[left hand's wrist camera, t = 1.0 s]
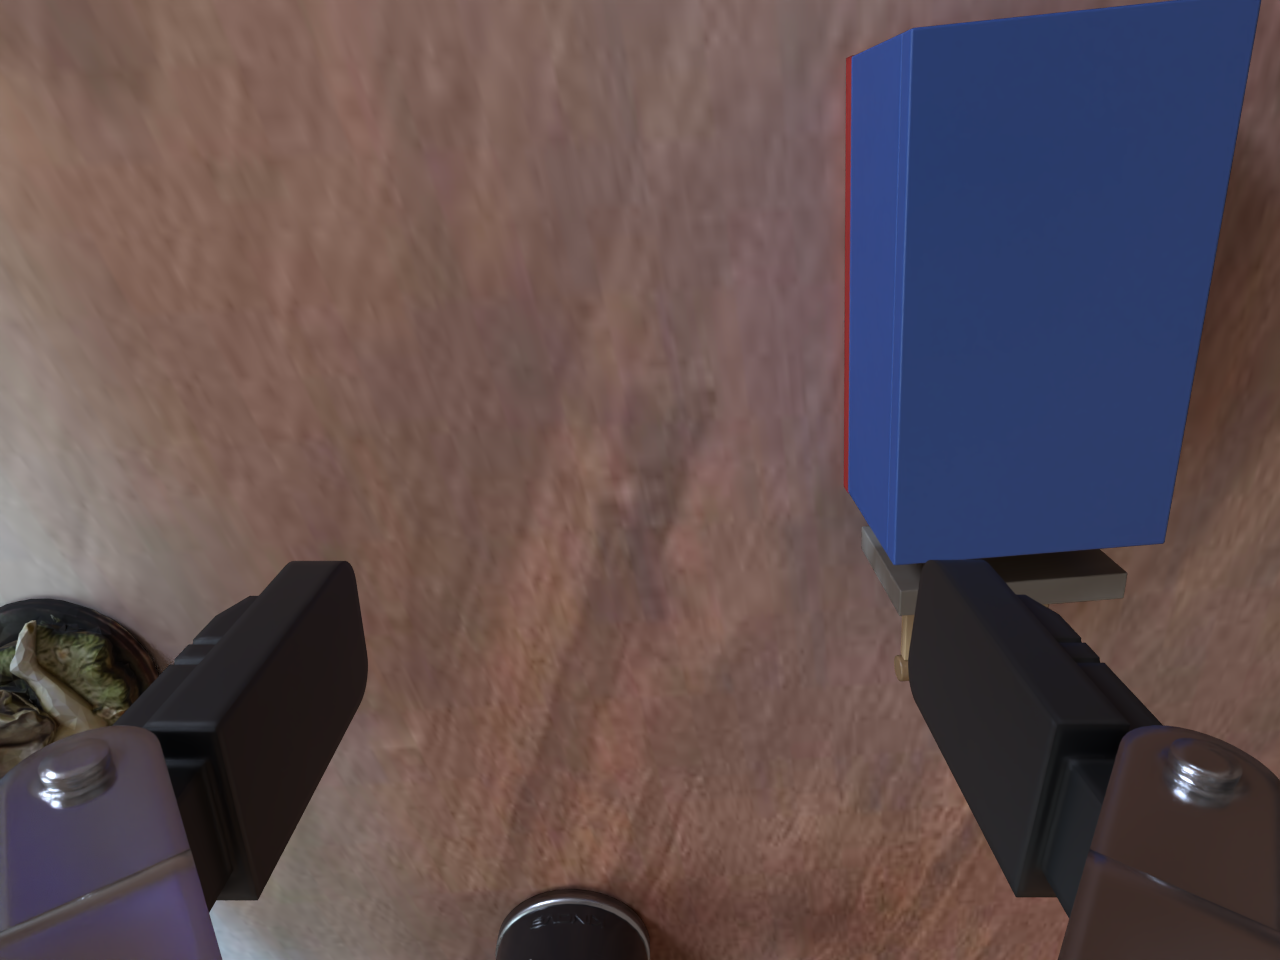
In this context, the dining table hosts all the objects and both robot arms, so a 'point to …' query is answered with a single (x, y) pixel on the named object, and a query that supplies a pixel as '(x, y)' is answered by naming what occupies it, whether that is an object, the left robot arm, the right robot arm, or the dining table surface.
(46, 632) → the figurine
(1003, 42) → the cabinet
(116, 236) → the dining table surface
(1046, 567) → the drawer
